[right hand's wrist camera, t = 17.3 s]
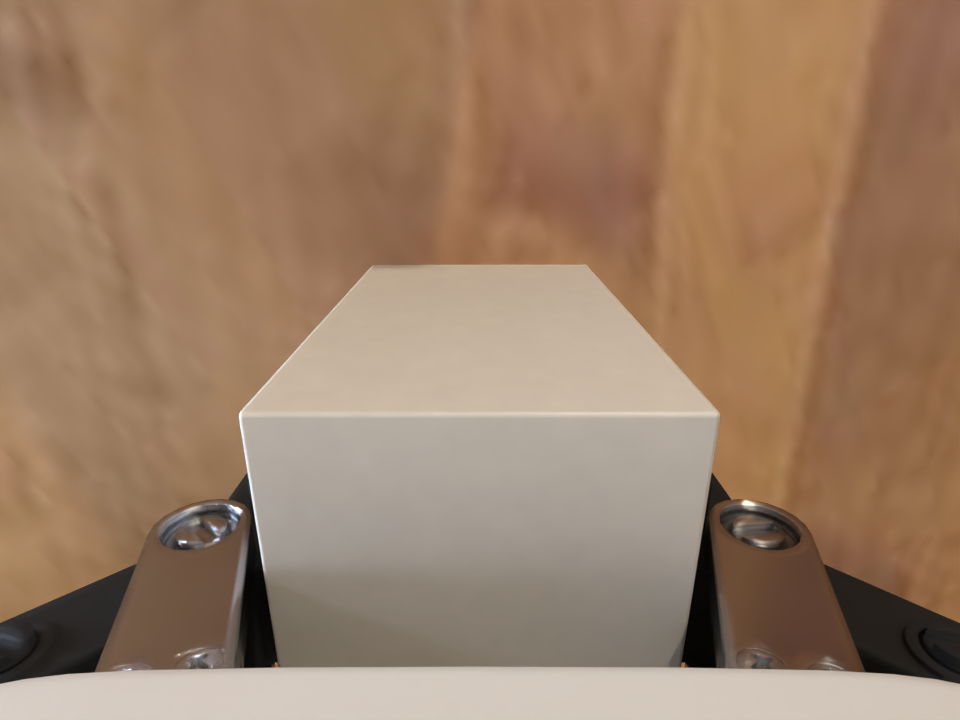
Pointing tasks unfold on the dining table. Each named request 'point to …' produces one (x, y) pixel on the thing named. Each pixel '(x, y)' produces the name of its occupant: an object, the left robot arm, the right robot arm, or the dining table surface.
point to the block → (479, 477)
